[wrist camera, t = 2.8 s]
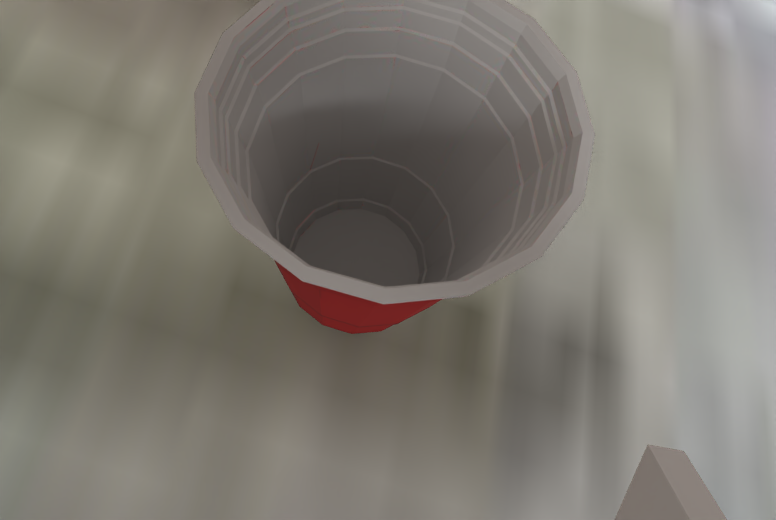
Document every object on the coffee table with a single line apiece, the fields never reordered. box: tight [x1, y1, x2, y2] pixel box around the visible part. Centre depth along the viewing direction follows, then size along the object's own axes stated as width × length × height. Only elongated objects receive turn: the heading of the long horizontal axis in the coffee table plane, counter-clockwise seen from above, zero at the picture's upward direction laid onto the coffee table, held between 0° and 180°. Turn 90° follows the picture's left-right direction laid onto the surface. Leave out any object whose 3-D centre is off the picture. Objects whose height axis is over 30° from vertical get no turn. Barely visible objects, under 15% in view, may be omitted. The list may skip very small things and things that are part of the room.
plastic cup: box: [195, 0, 595, 334], centre depth 24 cm, size 11×11×12 cm
